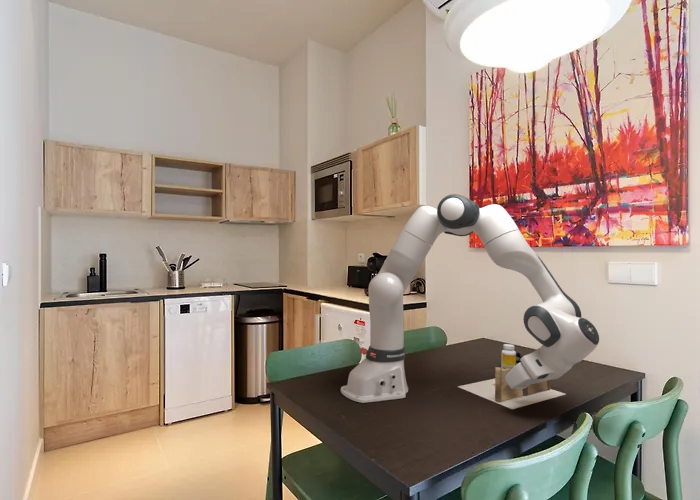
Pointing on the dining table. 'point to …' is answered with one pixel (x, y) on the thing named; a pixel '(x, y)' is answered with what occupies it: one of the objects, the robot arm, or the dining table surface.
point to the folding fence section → (504, 386)
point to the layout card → (488, 392)
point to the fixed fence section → (536, 388)
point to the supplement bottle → (508, 356)
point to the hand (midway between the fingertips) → (519, 386)
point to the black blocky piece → (518, 354)
